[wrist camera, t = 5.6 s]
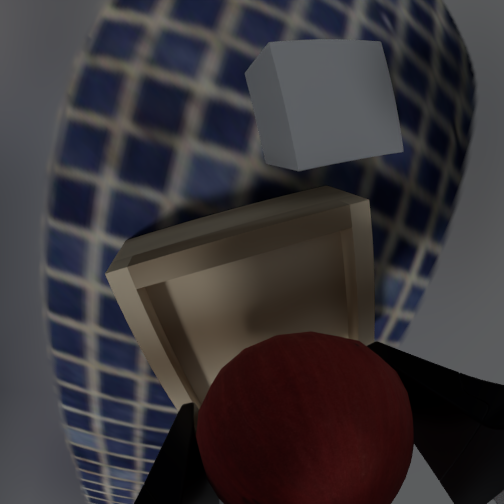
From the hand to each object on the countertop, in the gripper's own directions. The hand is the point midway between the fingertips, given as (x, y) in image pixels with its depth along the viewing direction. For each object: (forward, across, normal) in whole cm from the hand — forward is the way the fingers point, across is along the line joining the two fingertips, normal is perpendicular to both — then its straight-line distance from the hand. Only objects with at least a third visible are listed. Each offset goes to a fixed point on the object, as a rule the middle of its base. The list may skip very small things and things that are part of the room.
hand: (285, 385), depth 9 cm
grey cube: (+6, -4, -8) cm, 11 cm away
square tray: (+6, 0, 0) cm, 6 cm away
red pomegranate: (+2, 0, 0) cm, 2 cm away
